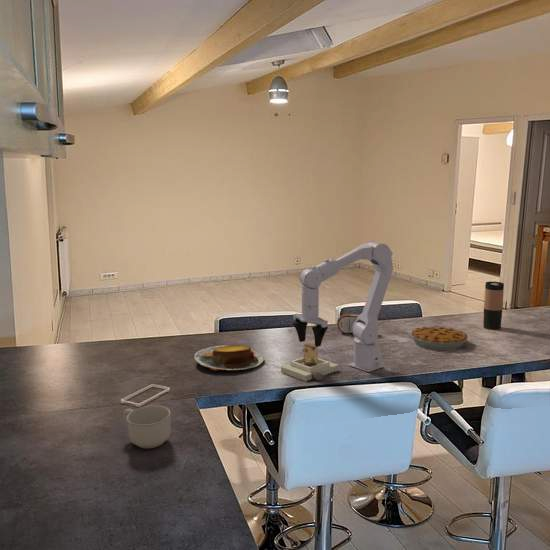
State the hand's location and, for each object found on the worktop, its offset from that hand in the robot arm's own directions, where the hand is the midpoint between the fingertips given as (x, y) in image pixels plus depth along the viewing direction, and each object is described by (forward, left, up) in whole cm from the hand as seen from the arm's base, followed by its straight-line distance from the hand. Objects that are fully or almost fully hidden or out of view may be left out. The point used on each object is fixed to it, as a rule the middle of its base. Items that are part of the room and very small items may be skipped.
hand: (310, 343), depth 195 cm
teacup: (-9, +68, -10) cm, 69 cm away
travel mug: (-14, -99, -10) cm, 101 cm away
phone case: (+18, +53, -11) cm, 57 cm away
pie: (-11, -62, -10) cm, 64 cm away
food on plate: (+27, +15, -10) cm, 32 cm away
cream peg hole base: (-2, 0, -10) cm, 10 cm away
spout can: (0, 0, -8) cm, 8 cm away
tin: (+21, -48, -10) cm, 53 cm away
